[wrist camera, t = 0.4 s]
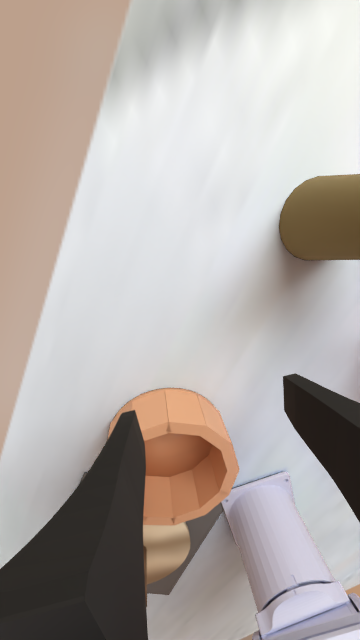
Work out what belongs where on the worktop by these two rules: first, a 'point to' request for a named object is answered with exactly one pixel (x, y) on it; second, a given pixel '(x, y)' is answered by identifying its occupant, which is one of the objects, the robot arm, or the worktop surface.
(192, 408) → the bowl
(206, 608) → the worktop surface
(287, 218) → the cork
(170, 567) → the lid
